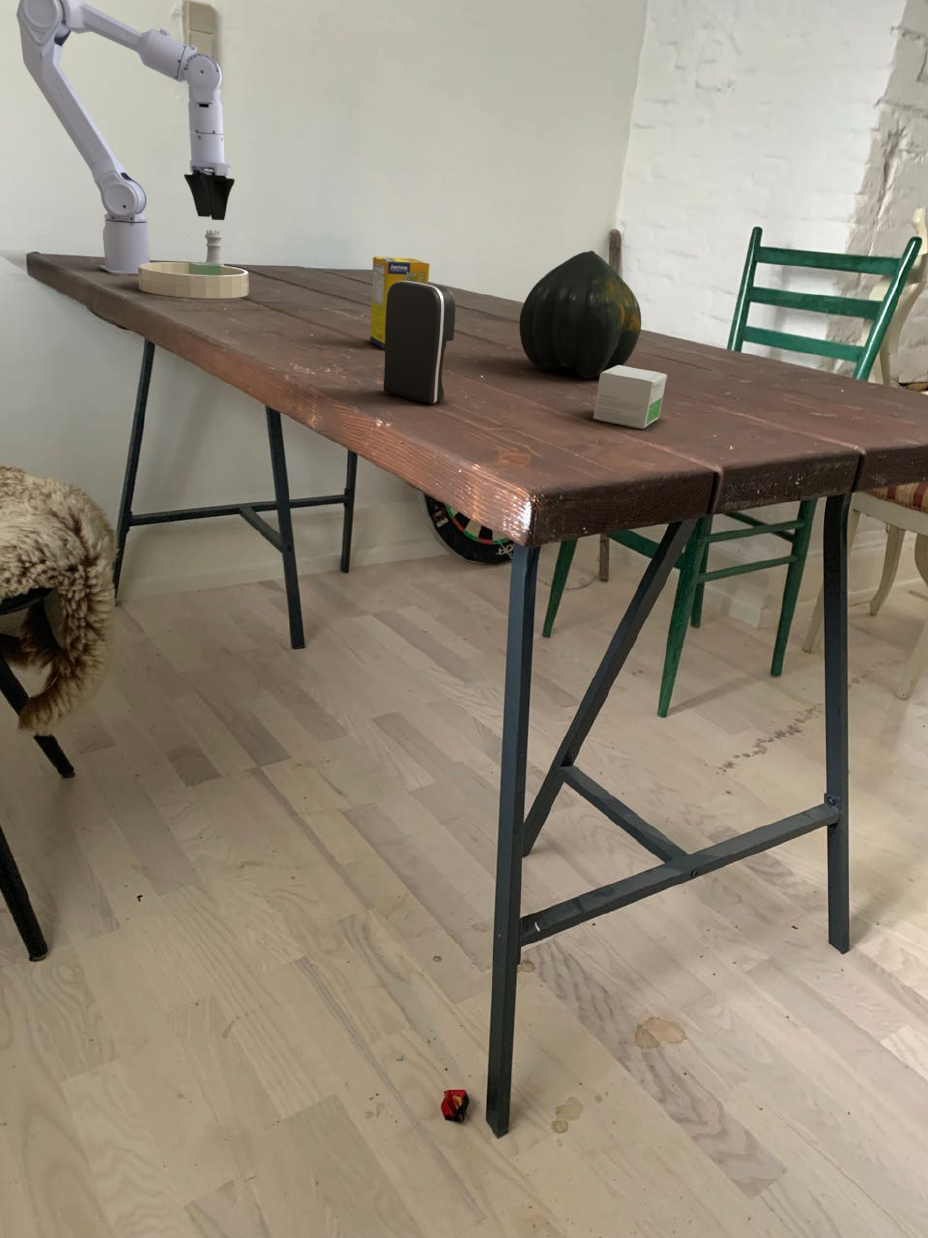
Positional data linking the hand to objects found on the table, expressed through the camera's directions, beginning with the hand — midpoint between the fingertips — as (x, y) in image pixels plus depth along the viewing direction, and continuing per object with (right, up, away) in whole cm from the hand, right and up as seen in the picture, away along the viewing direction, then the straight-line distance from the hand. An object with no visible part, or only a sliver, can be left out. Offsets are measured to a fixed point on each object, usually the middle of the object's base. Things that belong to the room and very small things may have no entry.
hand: (211, 218), depth 165 cm
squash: (+60, -42, -49) cm, 88 cm away
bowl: (+2, -20, -16) cm, 26 cm away
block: (+3, -18, -14) cm, 23 cm away
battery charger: (+41, -50, -70) cm, 95 cm away
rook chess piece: (-1, -8, +8) cm, 11 cm away
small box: (+63, -53, -71) cm, 109 cm away
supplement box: (+37, -37, -43) cm, 68 cm away
